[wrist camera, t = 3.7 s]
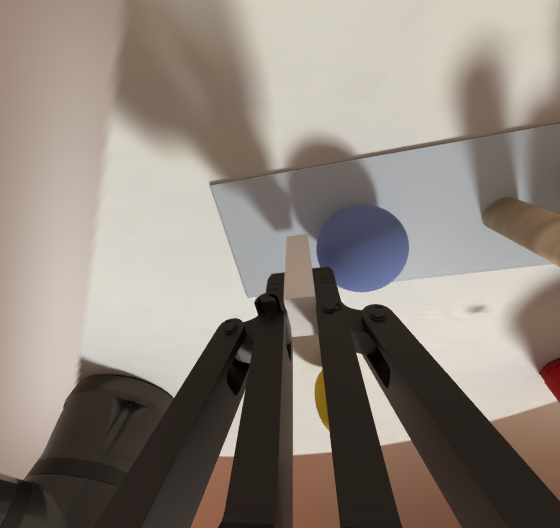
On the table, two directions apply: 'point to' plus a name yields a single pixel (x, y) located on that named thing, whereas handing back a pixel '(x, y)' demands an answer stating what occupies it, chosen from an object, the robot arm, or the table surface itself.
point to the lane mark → (400, 204)
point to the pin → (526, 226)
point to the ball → (363, 247)
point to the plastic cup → (552, 377)
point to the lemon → (321, 399)
